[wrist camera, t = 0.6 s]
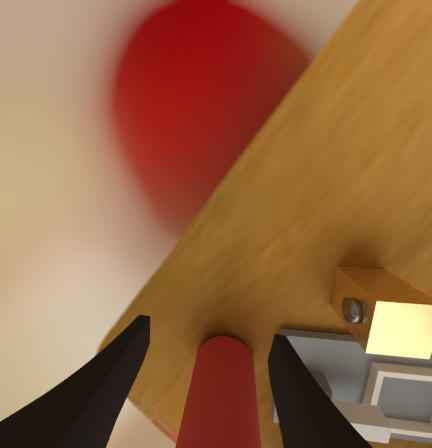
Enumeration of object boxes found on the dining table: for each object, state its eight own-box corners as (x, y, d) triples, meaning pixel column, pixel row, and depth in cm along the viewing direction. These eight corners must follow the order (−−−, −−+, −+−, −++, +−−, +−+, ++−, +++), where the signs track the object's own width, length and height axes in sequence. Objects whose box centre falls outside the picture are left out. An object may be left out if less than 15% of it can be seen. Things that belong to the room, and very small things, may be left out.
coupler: (381, 308, 20) (438, 360, 15) (324, 304, 21) (357, 352, 15) (390, 269, 20) (455, 306, 14) (329, 265, 20) (367, 300, 14)
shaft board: (511, 443, 22) (587, 516, 17) (271, 412, 25) (280, 468, 20) (553, 353, 20) (655, 408, 15) (280, 328, 22) (292, 369, 17)
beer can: (191, 336, 24) (146, 488, 12) (246, 328, 23) (256, 487, 11) (205, 381, 25) (176, 560, 13) (258, 376, 24) (278, 565, 12)
